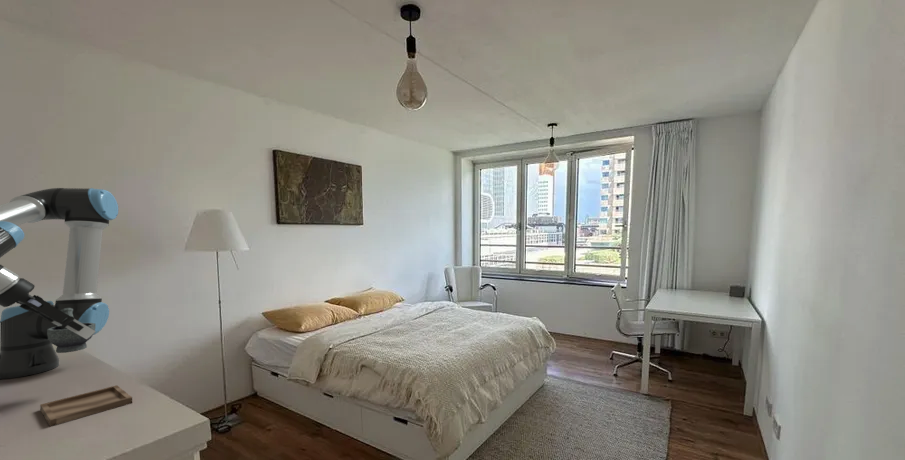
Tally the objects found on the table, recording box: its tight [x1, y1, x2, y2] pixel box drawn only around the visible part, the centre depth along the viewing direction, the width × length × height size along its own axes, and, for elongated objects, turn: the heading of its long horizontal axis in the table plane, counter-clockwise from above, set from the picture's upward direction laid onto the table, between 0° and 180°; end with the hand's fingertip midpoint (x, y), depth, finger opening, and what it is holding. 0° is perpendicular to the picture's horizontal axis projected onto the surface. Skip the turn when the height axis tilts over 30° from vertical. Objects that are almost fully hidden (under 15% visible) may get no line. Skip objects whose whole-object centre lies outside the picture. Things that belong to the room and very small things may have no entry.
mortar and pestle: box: [47, 308, 96, 354], centre depth 107 cm, size 11×9×12 cm
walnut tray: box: [39, 385, 133, 427], centre depth 96 cm, size 15×15×2 cm
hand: (84, 333), depth 109 cm, fingers closed on mortar and pestle, 11 cm apart
